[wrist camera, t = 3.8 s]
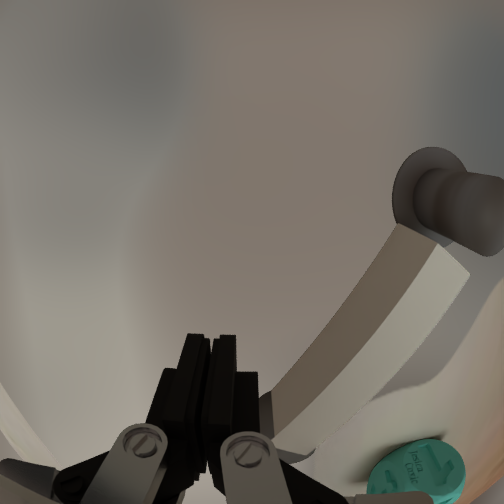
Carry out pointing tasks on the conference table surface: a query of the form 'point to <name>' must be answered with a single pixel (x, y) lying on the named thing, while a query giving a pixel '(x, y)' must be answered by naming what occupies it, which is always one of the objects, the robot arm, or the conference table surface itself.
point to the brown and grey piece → (449, 201)
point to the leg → (362, 343)
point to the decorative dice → (421, 471)
